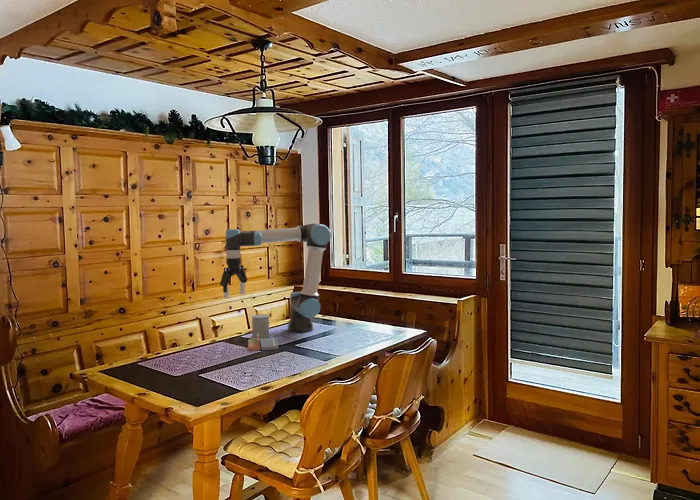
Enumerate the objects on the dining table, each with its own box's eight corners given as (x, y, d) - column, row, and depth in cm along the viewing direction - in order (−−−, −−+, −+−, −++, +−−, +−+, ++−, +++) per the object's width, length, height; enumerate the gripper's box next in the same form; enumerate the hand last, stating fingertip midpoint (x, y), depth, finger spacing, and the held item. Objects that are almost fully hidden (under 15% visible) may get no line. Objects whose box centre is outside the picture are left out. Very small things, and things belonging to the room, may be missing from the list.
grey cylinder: (271, 335, 313) (270, 314, 312) (266, 339, 303) (266, 317, 302) (254, 334, 314) (254, 314, 313) (250, 339, 304) (249, 317, 303)
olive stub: (259, 341, 298) (259, 333, 298) (259, 345, 290) (259, 336, 290) (248, 342, 297) (248, 333, 297) (248, 345, 289) (248, 337, 289)
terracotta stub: (259, 345, 289) (259, 337, 289) (260, 349, 281) (259, 340, 281) (248, 346, 288) (248, 337, 288) (248, 350, 280) (248, 341, 280)
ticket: (276, 340, 300) (276, 337, 300) (278, 349, 283) (278, 345, 283) (260, 341, 299) (260, 338, 299) (261, 350, 281) (261, 346, 281)
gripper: (242, 255, 307) (243, 292, 309) (212, 259, 285) (213, 299, 286) (253, 255, 303) (254, 293, 305) (223, 260, 281) (224, 300, 283)
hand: (234, 296), depth 296 cm, fingers open, 13 cm apart
